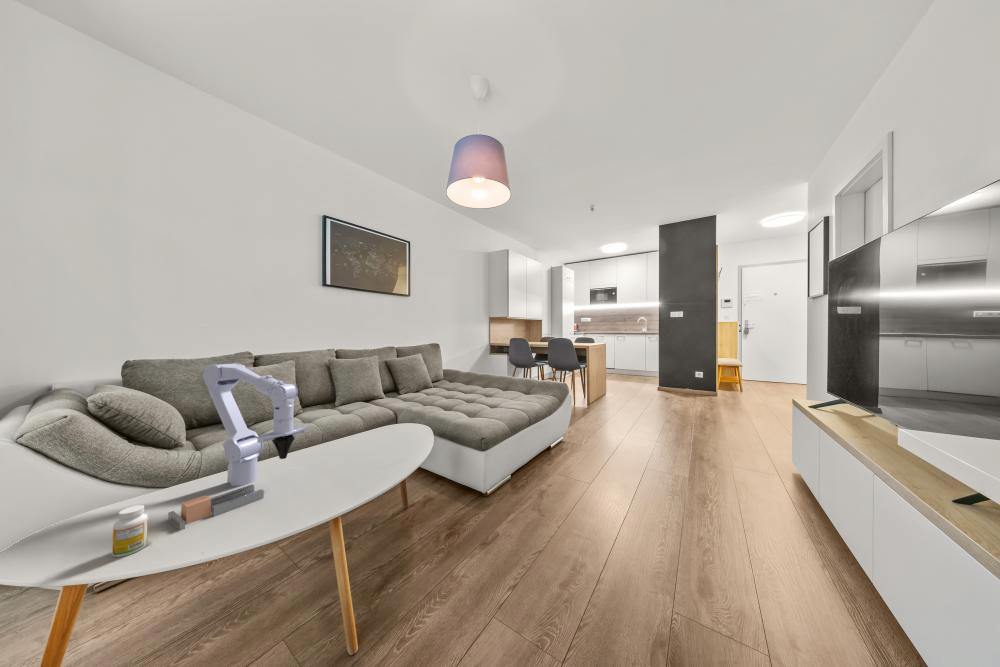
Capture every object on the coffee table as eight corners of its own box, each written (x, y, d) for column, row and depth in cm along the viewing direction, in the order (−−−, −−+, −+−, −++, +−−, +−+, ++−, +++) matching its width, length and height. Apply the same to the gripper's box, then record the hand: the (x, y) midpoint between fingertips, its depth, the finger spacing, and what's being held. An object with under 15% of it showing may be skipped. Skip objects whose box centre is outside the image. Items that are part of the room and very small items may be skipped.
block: (181, 519, 85) (181, 502, 86) (205, 510, 90) (205, 494, 90) (186, 523, 83) (186, 506, 83) (210, 514, 87) (211, 498, 88)
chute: (167, 523, 85) (168, 510, 85) (261, 490, 104) (261, 480, 104) (179, 534, 80) (179, 521, 80) (275, 498, 99) (275, 487, 99)
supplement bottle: (123, 546, 76) (125, 505, 76) (152, 540, 78) (154, 501, 78) (105, 560, 71) (106, 517, 71) (136, 554, 73) (138, 512, 73)
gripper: (264, 425, 99) (263, 467, 99) (311, 415, 112) (310, 453, 111) (254, 422, 103) (254, 463, 102) (301, 413, 115) (300, 450, 115)
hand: (282, 458), depth 107 cm, fingers closed
